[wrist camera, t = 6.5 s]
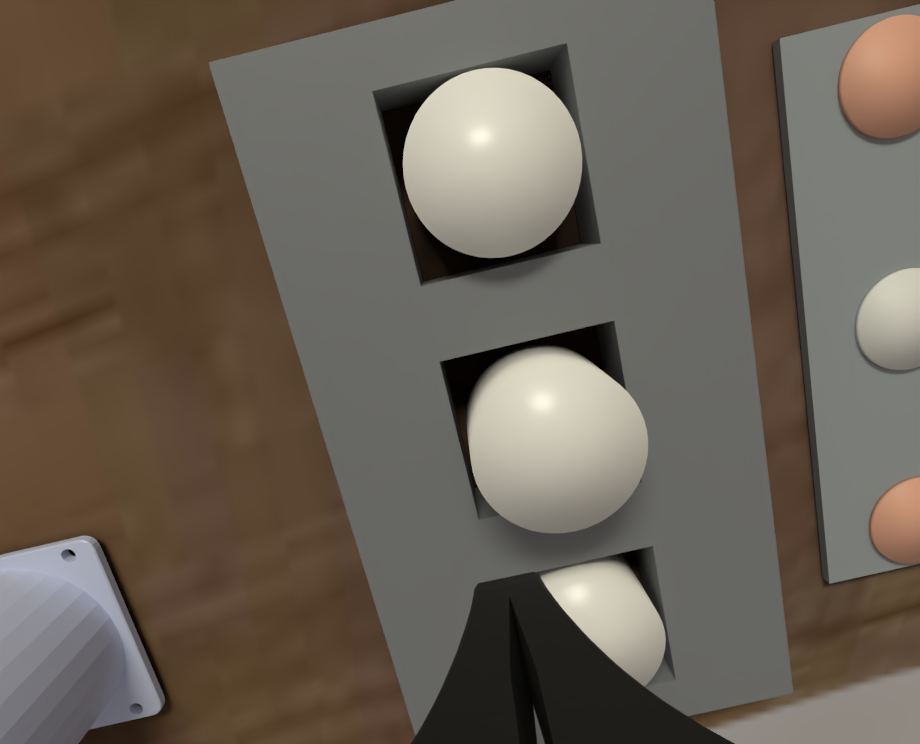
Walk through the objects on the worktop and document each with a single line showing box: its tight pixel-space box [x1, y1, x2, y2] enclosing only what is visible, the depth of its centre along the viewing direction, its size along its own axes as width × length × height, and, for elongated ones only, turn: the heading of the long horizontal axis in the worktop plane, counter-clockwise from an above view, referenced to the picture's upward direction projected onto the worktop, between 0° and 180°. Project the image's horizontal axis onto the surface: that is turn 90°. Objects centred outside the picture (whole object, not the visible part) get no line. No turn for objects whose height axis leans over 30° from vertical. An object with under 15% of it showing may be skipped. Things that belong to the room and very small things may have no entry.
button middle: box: [466, 344, 648, 534], centre depth 17 cm, size 5×5×3 cm
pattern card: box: [772, 4, 920, 584], centre depth 20 cm, size 7×20×1 cm, turn 13°
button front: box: [403, 68, 582, 258], centre depth 17 cm, size 5×5×3 cm
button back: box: [535, 553, 666, 687], centre depth 21 cm, size 5×5×3 cm
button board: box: [209, 0, 793, 744], centre depth 19 cm, size 14×25×2 cm, turn 13°
